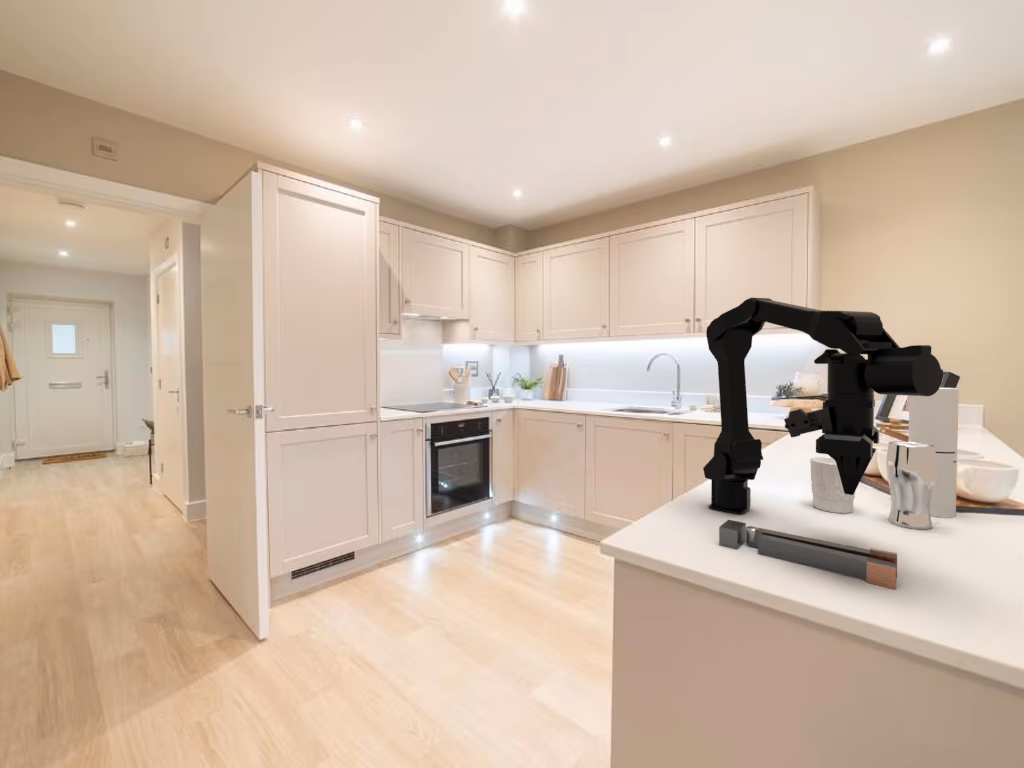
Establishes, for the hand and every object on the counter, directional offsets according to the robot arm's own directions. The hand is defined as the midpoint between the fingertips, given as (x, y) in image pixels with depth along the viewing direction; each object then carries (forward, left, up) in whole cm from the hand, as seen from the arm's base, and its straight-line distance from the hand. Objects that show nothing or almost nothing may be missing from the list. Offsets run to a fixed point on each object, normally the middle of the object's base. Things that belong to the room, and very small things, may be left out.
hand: (849, 494), depth 68 cm
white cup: (-5, +27, -10) cm, 29 cm away
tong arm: (-4, -4, -9) cm, 11 cm away
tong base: (-5, -6, -10) cm, 13 cm away
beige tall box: (+10, +37, -10) cm, 40 cm away
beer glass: (+7, +25, -10) cm, 28 cm away
